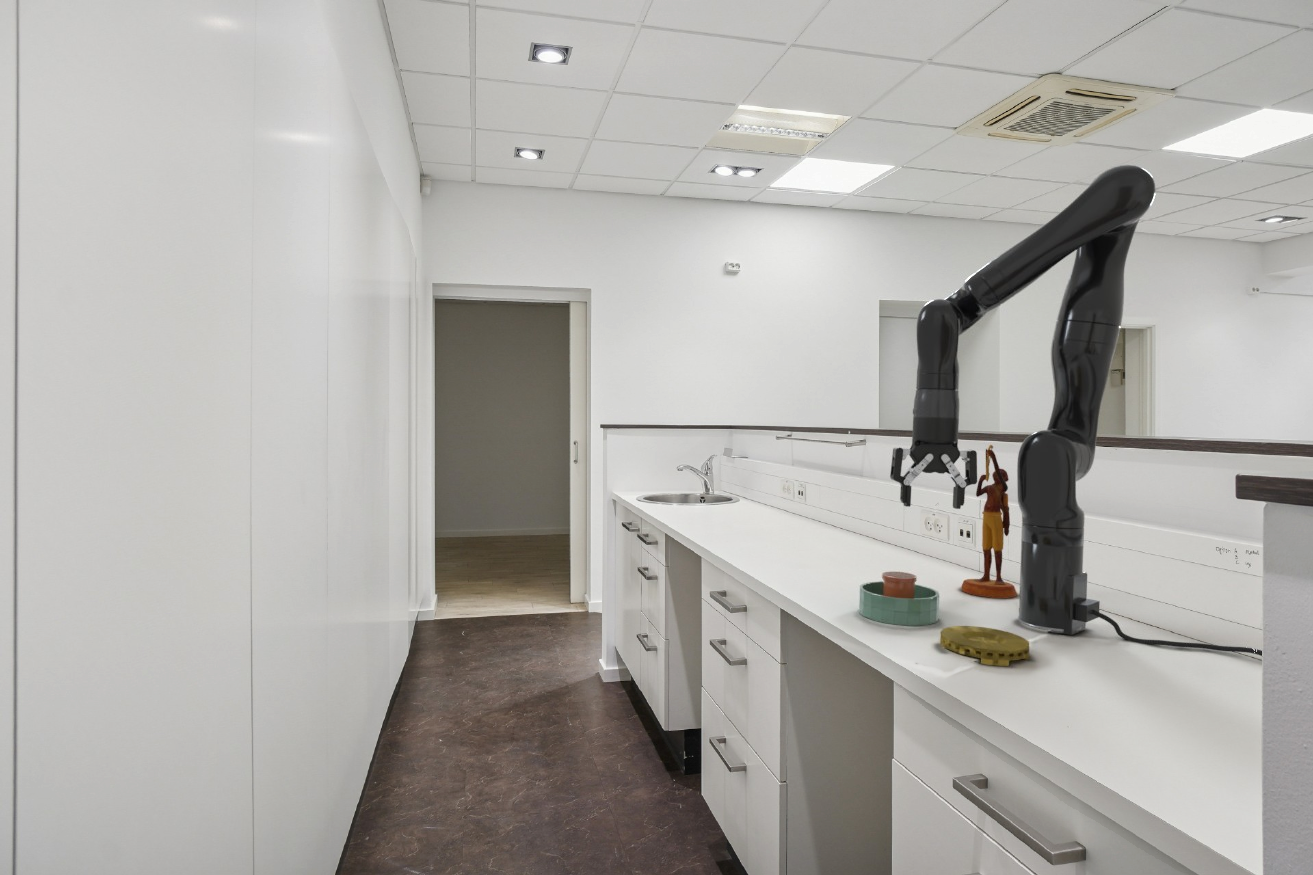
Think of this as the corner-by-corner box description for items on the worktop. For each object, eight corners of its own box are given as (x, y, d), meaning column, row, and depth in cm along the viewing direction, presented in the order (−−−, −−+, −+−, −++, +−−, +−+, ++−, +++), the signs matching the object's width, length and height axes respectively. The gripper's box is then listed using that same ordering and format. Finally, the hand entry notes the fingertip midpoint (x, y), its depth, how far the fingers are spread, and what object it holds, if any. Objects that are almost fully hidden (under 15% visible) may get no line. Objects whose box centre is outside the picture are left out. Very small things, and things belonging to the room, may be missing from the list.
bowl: (952, 620, 123) (953, 592, 123) (911, 633, 115) (912, 603, 115) (886, 604, 133) (886, 578, 133) (843, 615, 125) (844, 587, 125)
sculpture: (951, 588, 148) (955, 443, 148) (991, 585, 151) (995, 444, 151) (986, 599, 139) (991, 445, 138) (1028, 597, 142) (1033, 446, 141)
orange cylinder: (921, 616, 124) (923, 575, 124) (903, 621, 120) (904, 579, 120) (892, 608, 128) (893, 570, 128) (874, 613, 125) (875, 573, 125)
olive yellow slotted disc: (998, 671, 98) (999, 655, 98) (923, 647, 108) (923, 632, 108) (1045, 656, 105) (1045, 642, 105) (970, 635, 115) (970, 622, 115)
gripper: (899, 414, 123) (895, 508, 124) (985, 417, 122) (981, 511, 122) (889, 414, 130) (885, 502, 131) (970, 416, 129) (966, 506, 130)
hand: (931, 507), depth 127 cm, fingers open, 8 cm apart
